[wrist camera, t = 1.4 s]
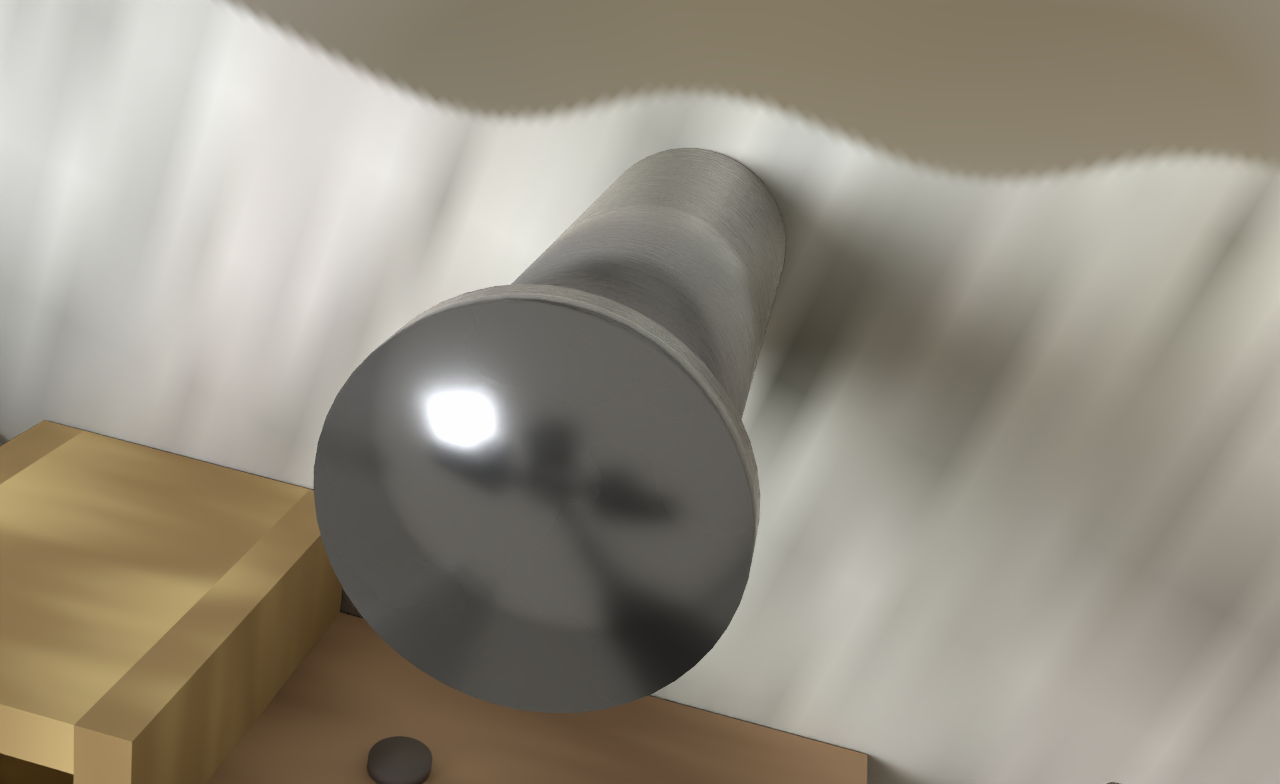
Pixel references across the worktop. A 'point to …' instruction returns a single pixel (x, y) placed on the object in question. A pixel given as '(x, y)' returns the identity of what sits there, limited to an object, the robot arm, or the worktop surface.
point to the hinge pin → (567, 451)
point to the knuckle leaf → (270, 652)
